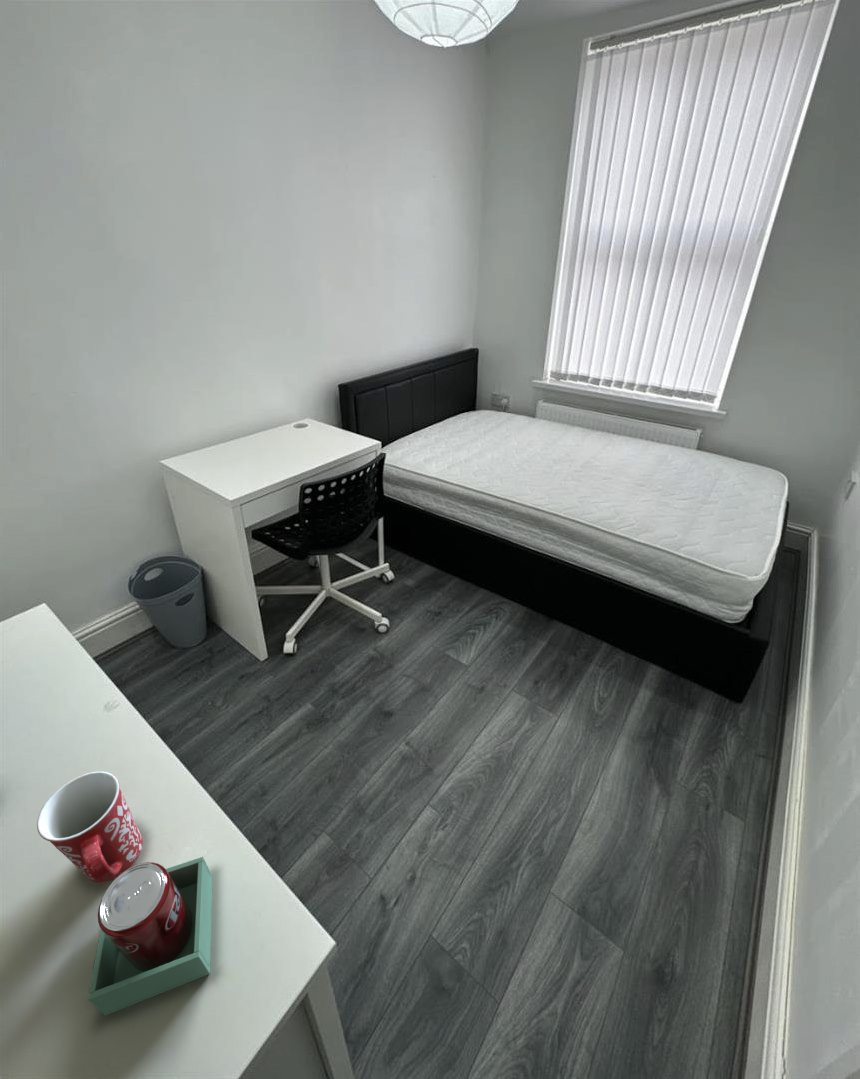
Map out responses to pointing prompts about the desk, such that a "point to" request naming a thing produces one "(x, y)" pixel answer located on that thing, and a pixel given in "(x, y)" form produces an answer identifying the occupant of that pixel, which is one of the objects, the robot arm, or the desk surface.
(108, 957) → the teal square tray
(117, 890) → the soda can
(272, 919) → the desk surface
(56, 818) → the mug
